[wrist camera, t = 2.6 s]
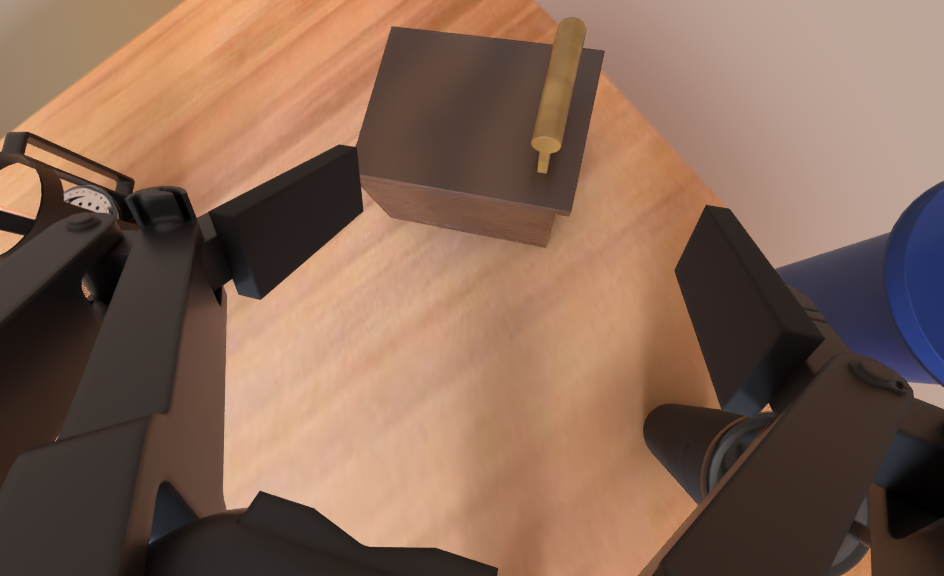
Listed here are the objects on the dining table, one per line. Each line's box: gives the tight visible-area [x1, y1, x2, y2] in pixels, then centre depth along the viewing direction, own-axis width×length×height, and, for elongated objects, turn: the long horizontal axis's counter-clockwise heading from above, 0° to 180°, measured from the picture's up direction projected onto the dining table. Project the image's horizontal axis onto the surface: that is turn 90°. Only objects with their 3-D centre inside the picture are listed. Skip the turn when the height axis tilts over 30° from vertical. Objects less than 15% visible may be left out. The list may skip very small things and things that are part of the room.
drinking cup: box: [644, 404, 871, 576], centre depth 22 cm, size 8×8×20 cm
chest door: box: [356, 18, 604, 216], centre depth 26 cm, size 17×13×6 cm
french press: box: [0, 132, 139, 262], centre depth 29 cm, size 12×9×23 cm
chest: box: [360, 179, 555, 247], centre depth 33 cm, size 16×13×9 cm
